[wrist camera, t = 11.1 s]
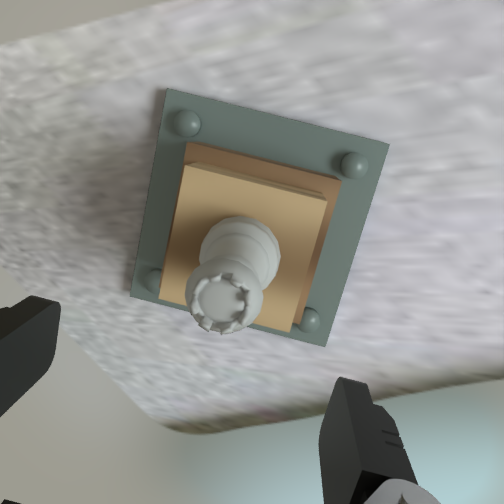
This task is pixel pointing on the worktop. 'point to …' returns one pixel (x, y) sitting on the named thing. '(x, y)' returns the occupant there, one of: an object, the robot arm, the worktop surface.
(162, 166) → the baseplate
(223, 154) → the stepped wooden plinth
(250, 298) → the rook chess piece
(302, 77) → the worktop surface
